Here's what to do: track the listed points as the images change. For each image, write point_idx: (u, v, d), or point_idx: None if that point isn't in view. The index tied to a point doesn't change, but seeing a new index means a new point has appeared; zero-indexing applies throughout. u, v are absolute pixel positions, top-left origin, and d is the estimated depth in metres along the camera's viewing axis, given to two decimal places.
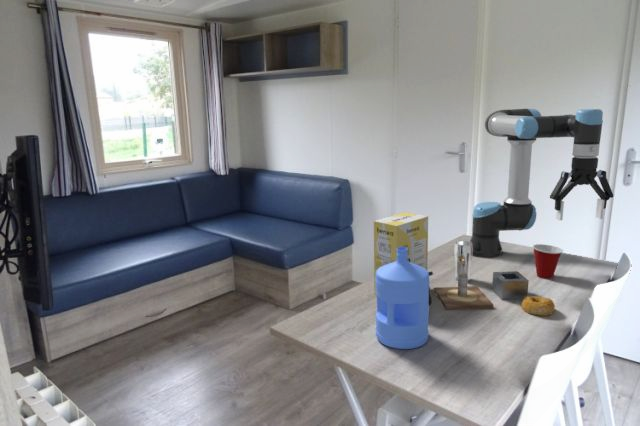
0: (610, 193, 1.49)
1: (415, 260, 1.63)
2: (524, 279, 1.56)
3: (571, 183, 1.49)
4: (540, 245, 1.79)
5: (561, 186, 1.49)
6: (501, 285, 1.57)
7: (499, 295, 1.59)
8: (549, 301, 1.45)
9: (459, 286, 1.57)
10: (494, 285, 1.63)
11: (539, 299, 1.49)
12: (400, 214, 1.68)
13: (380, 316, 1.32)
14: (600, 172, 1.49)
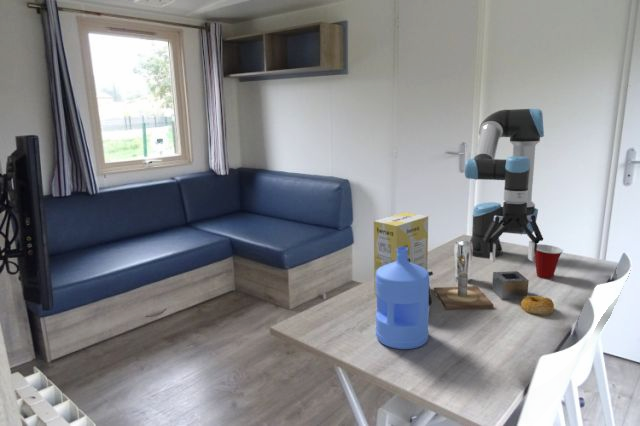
0: (540, 236, 1.55)
1: (415, 260, 1.63)
2: (524, 279, 1.56)
3: (502, 227, 1.55)
4: (540, 245, 1.79)
5: (492, 229, 1.54)
6: (501, 285, 1.57)
7: (499, 295, 1.59)
8: (548, 300, 1.45)
9: (459, 286, 1.57)
10: (494, 285, 1.63)
11: (538, 298, 1.50)
12: (400, 214, 1.68)
13: (380, 316, 1.32)
14: (530, 216, 1.54)
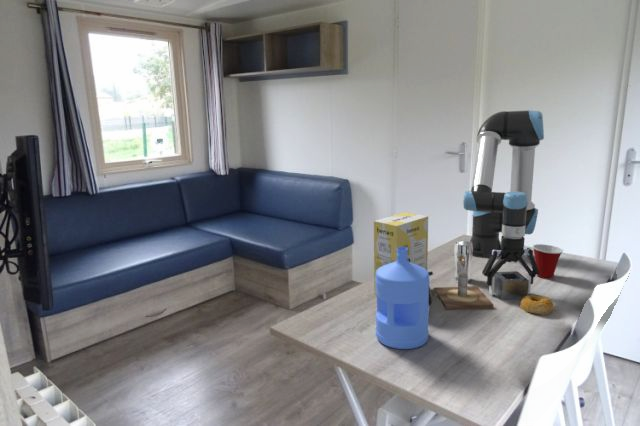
0: (536, 270, 1.58)
1: (415, 260, 1.63)
2: (524, 279, 1.56)
3: (500, 260, 1.58)
4: (540, 245, 1.79)
5: (491, 264, 1.57)
6: (501, 285, 1.57)
7: (499, 295, 1.59)
8: (548, 300, 1.45)
9: (459, 286, 1.57)
10: (494, 285, 1.63)
11: (538, 298, 1.50)
12: (400, 214, 1.68)
13: (380, 316, 1.32)
14: (527, 250, 1.57)
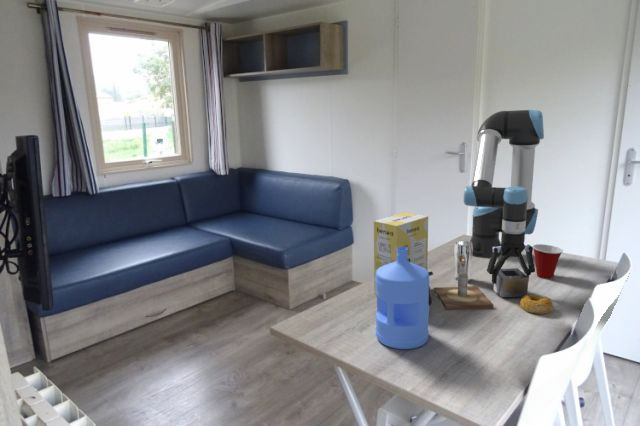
0: (533, 268, 1.58)
1: (415, 260, 1.63)
2: (524, 276, 1.56)
3: (502, 257, 1.58)
4: (540, 245, 1.79)
5: (494, 261, 1.57)
6: (501, 283, 1.57)
7: (499, 292, 1.59)
8: (547, 299, 1.46)
9: (459, 286, 1.57)
10: None
11: (537, 298, 1.50)
12: (400, 214, 1.68)
13: (380, 316, 1.32)
14: (528, 247, 1.57)
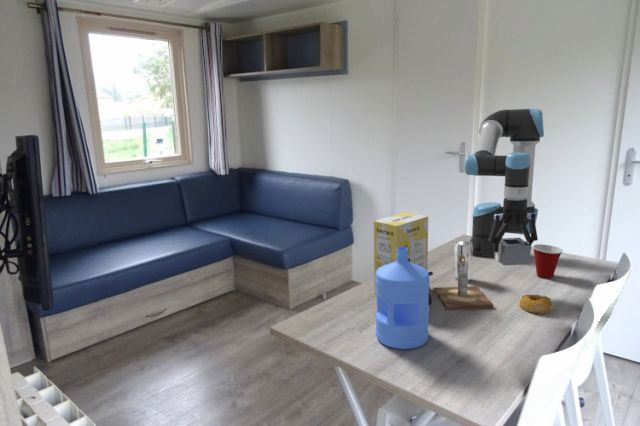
0: (535, 236, 1.55)
1: (415, 260, 1.63)
2: (526, 244, 1.54)
3: (504, 225, 1.55)
4: (540, 245, 1.79)
5: (495, 229, 1.54)
6: (503, 251, 1.54)
7: (501, 261, 1.56)
8: (547, 299, 1.46)
9: (459, 286, 1.57)
10: None
11: (537, 297, 1.51)
12: (400, 214, 1.68)
13: (380, 316, 1.32)
14: (530, 214, 1.54)
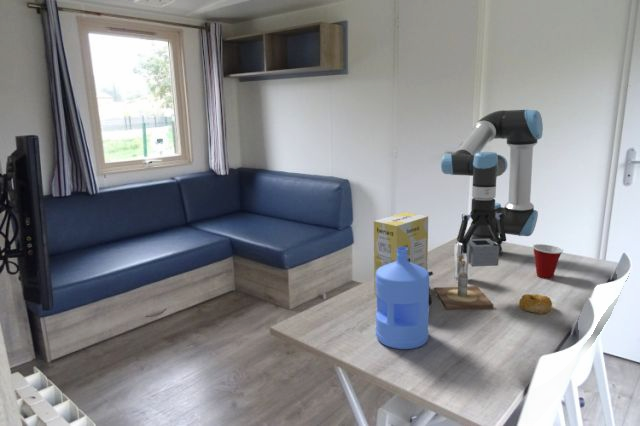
0: (504, 236, 1.53)
1: (415, 260, 1.63)
2: (495, 245, 1.51)
3: (472, 225, 1.52)
4: (540, 245, 1.79)
5: (463, 229, 1.52)
6: (471, 252, 1.51)
7: (469, 262, 1.54)
8: (546, 299, 1.46)
9: (459, 286, 1.57)
10: None
11: (537, 297, 1.51)
12: (400, 214, 1.68)
13: (380, 316, 1.32)
14: (498, 214, 1.52)
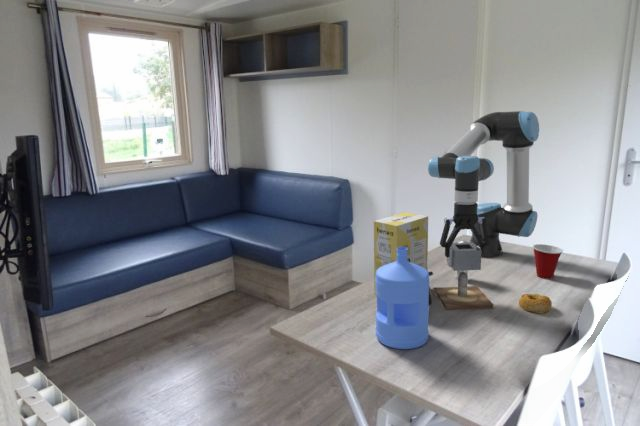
0: (486, 241, 1.52)
1: (415, 260, 1.63)
2: (477, 249, 1.51)
3: (455, 229, 1.52)
4: (540, 245, 1.79)
5: (446, 233, 1.52)
6: (453, 256, 1.51)
7: (452, 266, 1.53)
8: (546, 298, 1.47)
9: (459, 286, 1.57)
10: None
11: (536, 296, 1.51)
12: (400, 214, 1.68)
13: (380, 316, 1.32)
14: (481, 218, 1.51)
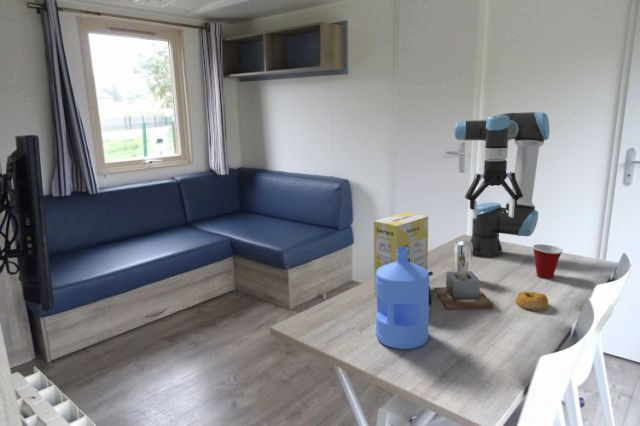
0: (520, 193, 1.61)
1: (415, 260, 1.63)
2: (476, 279, 1.53)
3: (483, 184, 1.61)
4: (540, 245, 1.79)
5: (474, 187, 1.60)
6: (452, 286, 1.54)
7: (451, 296, 1.56)
8: (543, 296, 1.48)
9: None
10: (447, 285, 1.60)
11: (533, 294, 1.53)
12: (400, 214, 1.68)
13: (380, 316, 1.32)
14: (510, 174, 1.60)
